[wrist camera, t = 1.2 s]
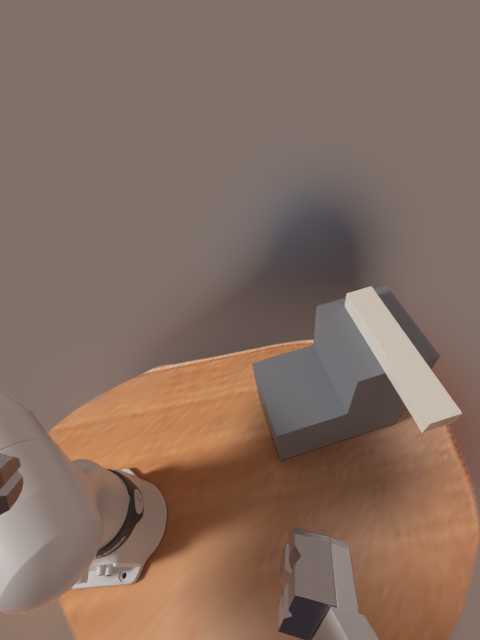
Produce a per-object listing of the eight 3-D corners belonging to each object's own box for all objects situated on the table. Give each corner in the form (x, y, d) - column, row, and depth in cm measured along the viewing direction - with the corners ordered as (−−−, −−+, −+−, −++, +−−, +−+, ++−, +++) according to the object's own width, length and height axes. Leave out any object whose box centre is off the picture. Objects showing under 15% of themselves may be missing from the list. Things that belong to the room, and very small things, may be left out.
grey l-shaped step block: (280, 460, 66) (273, 408, 45) (258, 396, 74) (245, 327, 54) (395, 423, 67) (439, 355, 47) (361, 364, 76) (386, 285, 55)
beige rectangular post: (422, 432, 41) (429, 423, 39) (344, 306, 54) (346, 293, 51) (452, 422, 41) (462, 413, 39) (368, 299, 54) (371, 286, 52)
